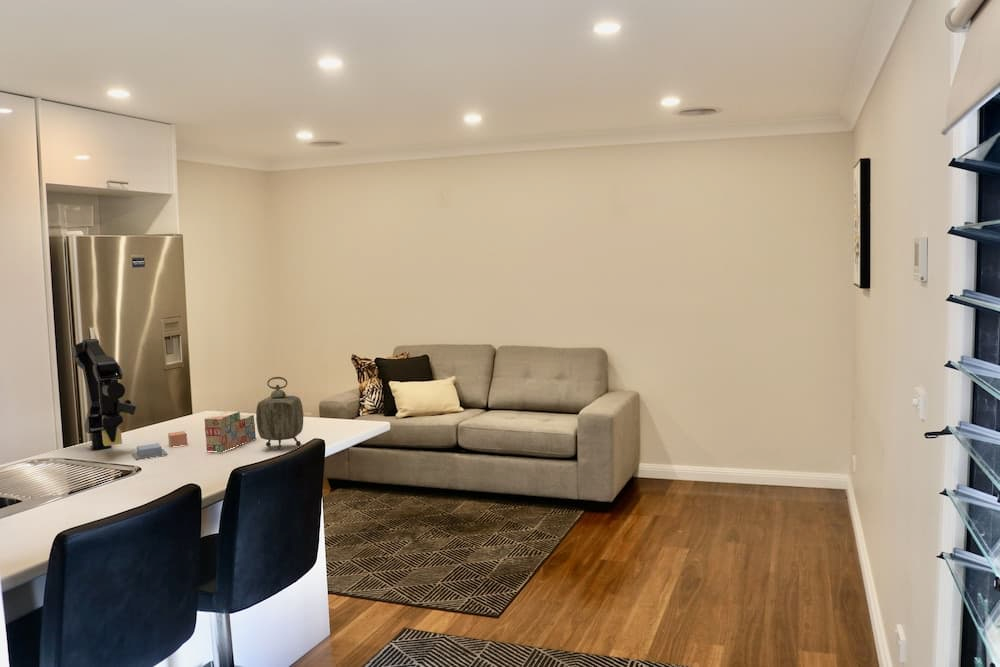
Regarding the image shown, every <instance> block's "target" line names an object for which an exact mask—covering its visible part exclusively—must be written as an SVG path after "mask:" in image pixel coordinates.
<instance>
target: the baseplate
mask: <svg viewBox="0 0 1000 667" xmlns="http://www.w3.org/2000/svg"><path fill="white" fill-rule="evenodd" d="M131 455H132V457H133V456H134V457H133V458H134V460H135V461H139V460H138V459H142V460H146V459H145V458H148V459H151V458H150V457H155V458H157V457H156V456H162V455H168V453H167V452H166V450H165V449H163V448H162V446H161V445H160V444H159V443H151V444H145V445H144V444H143V445H137V446H136V452H135V451H134V452H132V453H131ZM162 457H163V456H162Z"/></svg>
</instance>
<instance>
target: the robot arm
mask: <svg viewBox="0 0 1000 667" xmlns="http://www.w3.org/2000/svg"><path fill="white" fill-rule="evenodd" d="M72 357H73V358H74V360H75V364H76V365H77V366H78V367H79V368H80V369H81V370H82V374H83V377H84V378H83V379H84V384H85V388H86V394H87V397H88V402H89V408H88V411H87V413H86V418H85V423H84V431H85V433H87V434H90V438H91V439H90V440H91V445H90V449H91V451H95V450H96V451H97V450H103V449H110V448H112V446H113V445H109V446H104V444H103V438H102V431H103V430H105V431H106V433H107V434H108V436H109V438H110V440H111V442H115V437H116V431H117V429H118V426H120V425H121V424H122V423H124V418H123V415H122V413H125V414H129V415H133V416H134V415H135V413H136V410H137V405H136V404H134V403H132V401H131V400H130V399H125V400H124V401H120V399H121V398H122V397H124V395H125V393H126V388H125V386H124V385H123V384H122V383H121V382H119V380H123V376H124V375H123V371H122V368H121V366H120V365H119V362H117V360H116V359H115V358H114V357H112V356H108V355H107V354H106V352H105V351H104V349H103V348H102V346H101V345H100V340H99V338H98V339H96V338H89V339H83V340H81V342H79V343H76V344H75V345H74V346H73V348H72Z"/></svg>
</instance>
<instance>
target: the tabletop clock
mask: <svg viewBox="0 0 1000 667" xmlns="http://www.w3.org/2000/svg"><path fill="white" fill-rule="evenodd" d="M273 380H283V381H284V382H285V385H284V386H283V385H282V386H280V385H279V384H276V385H275V386H271V385H270V384H269V383H270V381H273ZM266 386H268V387H269V388H270V389H272V390H273V391H272V392H271V393H270V396H268V397H266V398H264V399H262V400H261V401H259V402H258V403H257V405H256V409H255V410H256V413H255V414H256V415H255V417H256V418H255V422H256V426H257V427H256V429H257V432H258V435H259V437H260V439H263V440H266V441H267V442H266V443H265V446H266V447H270V446H271V441H278V445H277V450H282V449H283V445H282V444H281V442H282V441H285V440H291V439H293V440H294V441H295V442H296V443H295V444H296V446H300V445H302V444H301V441H300V440H298V439H297V436H299V435H300V434H301V433H302V431H303V428H304V409H303V403H302V401H301V398H300V397H298V396H296V395H288V394H286V392H285V390H282V389H284V388H286V387H287V386H288V380H287V379H286V378H285V377H282V376H274V377H271V378H269V379H268V380H267V385H266Z"/></svg>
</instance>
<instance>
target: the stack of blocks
mask: <svg viewBox="0 0 1000 667" xmlns="http://www.w3.org/2000/svg"><path fill="white" fill-rule="evenodd" d="M204 431H205V441H206V444H205V445H206V446H205V447H206V452H207V451H217V452H223V451H225V450H228V449H230V448H233V447H236V446H237V445H240V444H242V443H245V442H247V443H249V441H250V442H252V441H254V440H253V439H255V440H257V439H256V438H257V437H256V424H255V415H254V414H241V413H240V411H222V412H219V413H216V414H214V415H211V416H208V417H205V418H204ZM251 440H252V441H251ZM245 444H246V443H245ZM240 446H241V445H240ZM236 448H237V447H236Z"/></svg>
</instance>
